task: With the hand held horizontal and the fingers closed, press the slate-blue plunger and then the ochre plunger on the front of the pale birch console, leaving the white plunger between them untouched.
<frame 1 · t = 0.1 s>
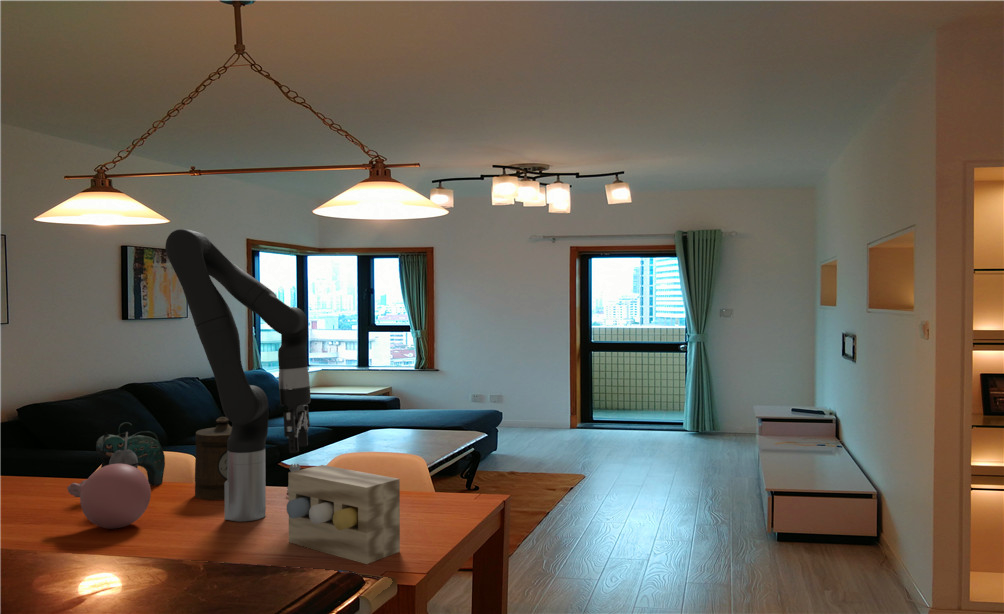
hand: (298, 449, 200), 17 cm above the table, tool pointing down, fingers open, 8 cm apart
white button: (324, 512, 171), point 9 cm above the table, slide at 0.0 cm
balloon: (107, 527, 192), on the table
beverage cup: (123, 508, 210), on the table
rook chess piece: (294, 493, 226), on the table
ochre button: (348, 517, 167), point 9 cm above the table, slide at 0.0 cm
ceramic cat: (130, 490, 230), on the table
wooden container: (223, 494, 225), on the table
slate button: (301, 507, 176), point 9 cm above the table, slide at 0.0 cm
console: (326, 552, 172), on the table
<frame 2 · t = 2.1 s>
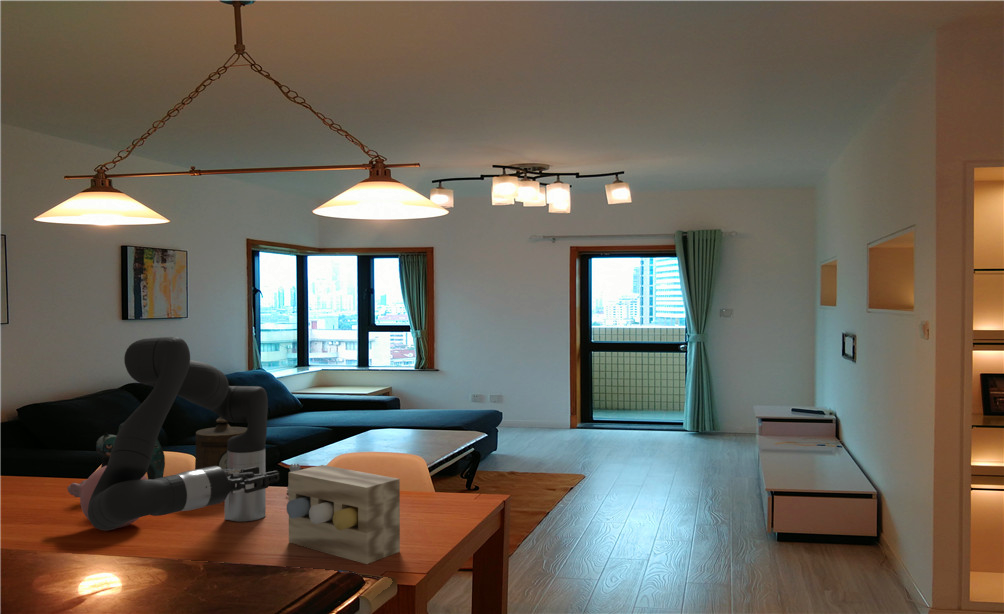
hand: (267, 473, 168), 18 cm above the table, tool horizontal, fingers open, 6 cm apart
nothing on the table moved.
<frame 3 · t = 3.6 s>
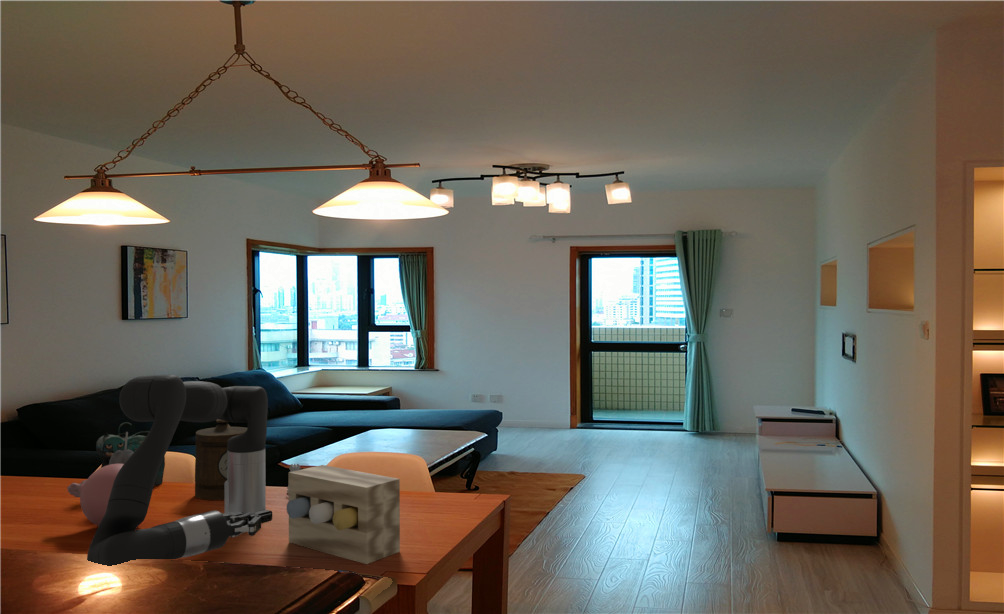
hand: (270, 514, 169), 9 cm above the table, tool horizontal, fingers closed
nothing on the table moved.
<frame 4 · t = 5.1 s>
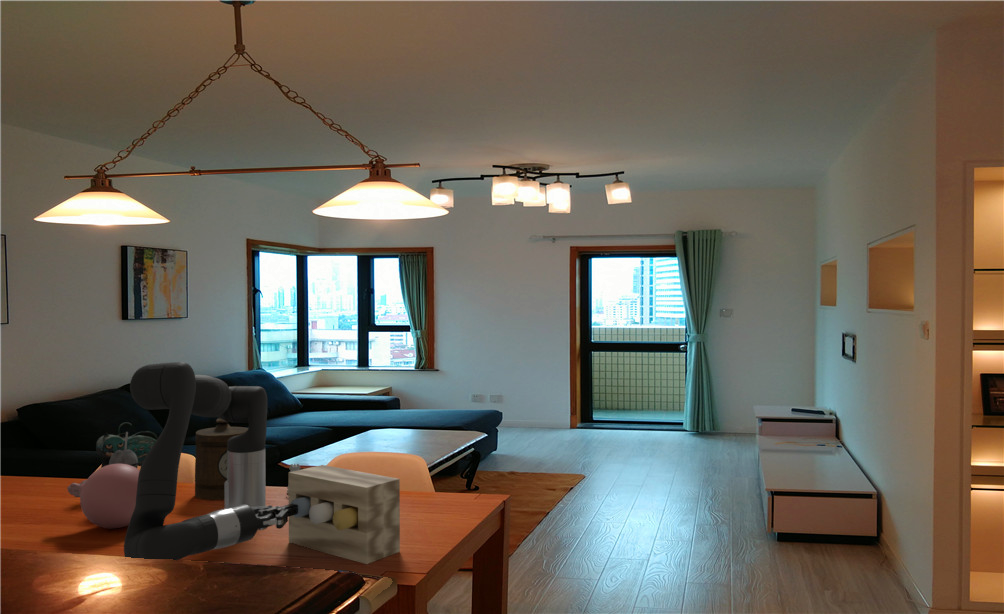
hand: (295, 508, 175), 9 cm above the table, tool horizontal, fingers closed
slate button: (304, 506, 177), point 9 cm above the table, slide at 1.0 cm, touching gripper
everything else where it was.
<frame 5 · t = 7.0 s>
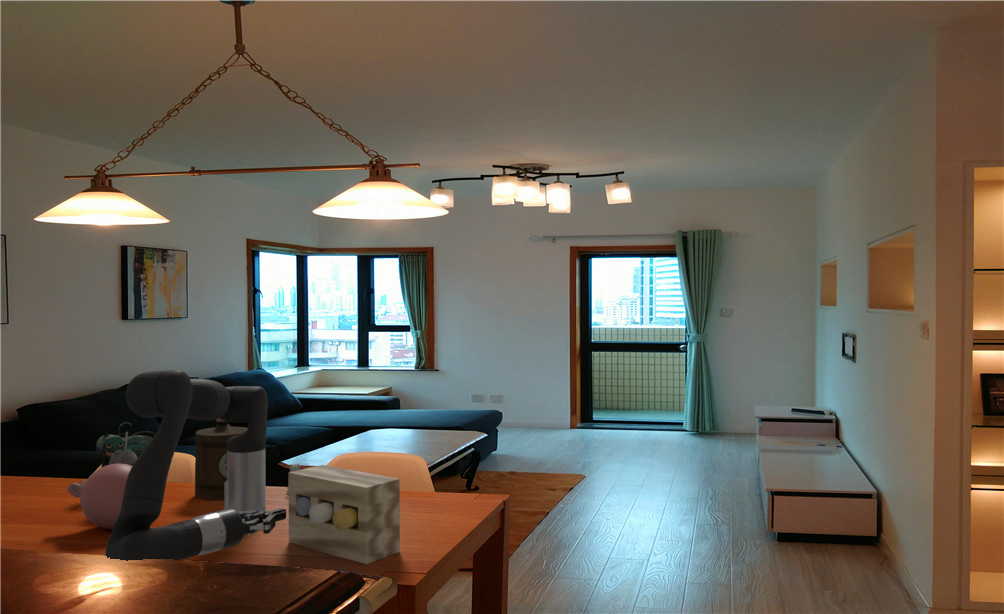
hand: (283, 513, 171), 9 cm above the table, tool horizontal, fingers closed
slate button: (310, 504, 178), point 9 cm above the table, slide at 2.6 cm
everything else where it was.
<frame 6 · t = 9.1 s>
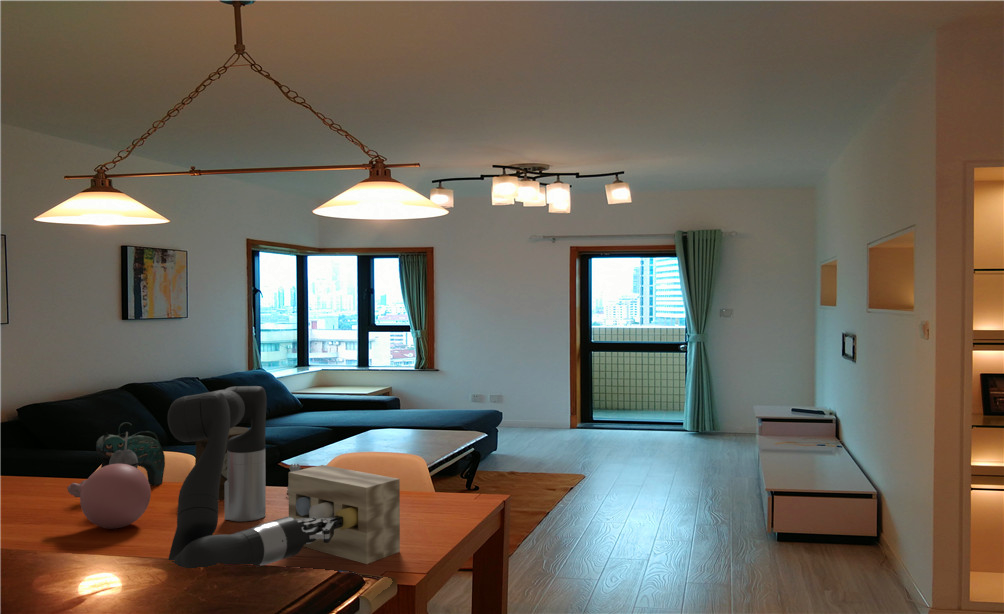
hand: (340, 520, 166), 9 cm above the table, tool horizontal, fingers closed
ochre button: (349, 517, 167), point 9 cm above the table, slide at 0.5 cm, touching gripper
everything else where it was.
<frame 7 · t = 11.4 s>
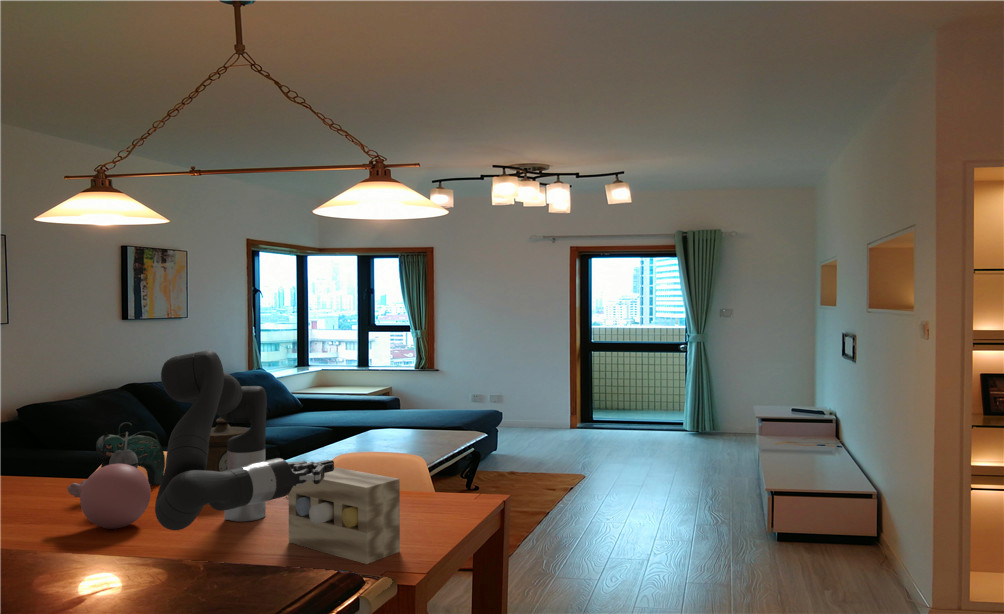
hand: (331, 465, 163), 21 cm above the table, tool horizontal, fingers closed
ochre button: (356, 515, 169), point 9 cm above the table, slide at 2.6 cm
everything else where it was.
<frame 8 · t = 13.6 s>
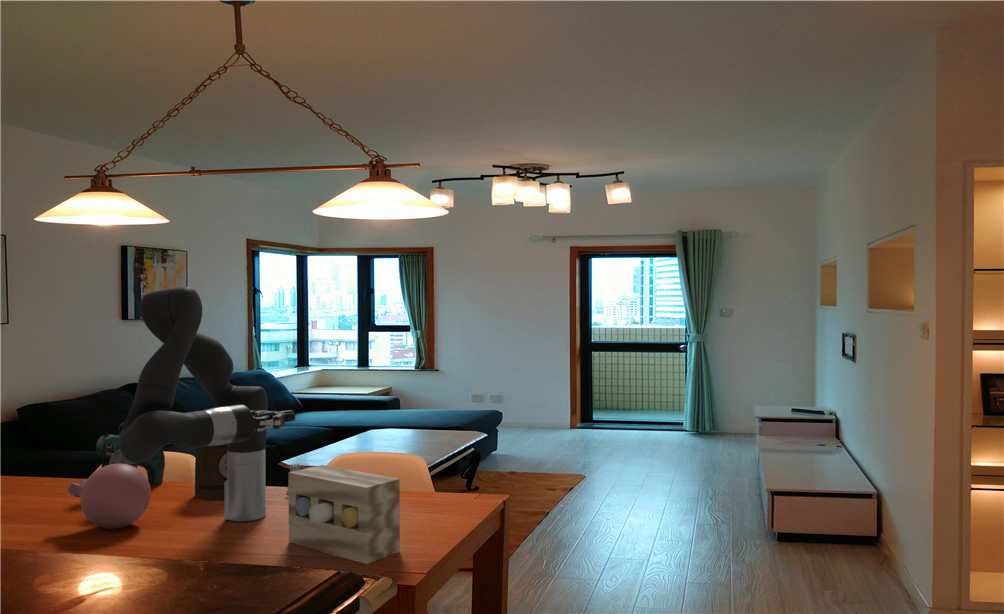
hand: (292, 415, 172), 30 cm above the table, tool horizontal, fingers closed
nothing on the table moved.
at the end: slate button slide at 2.6 cm; ochre button slide at 2.6 cm; white button slide at 0.0 cm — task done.
